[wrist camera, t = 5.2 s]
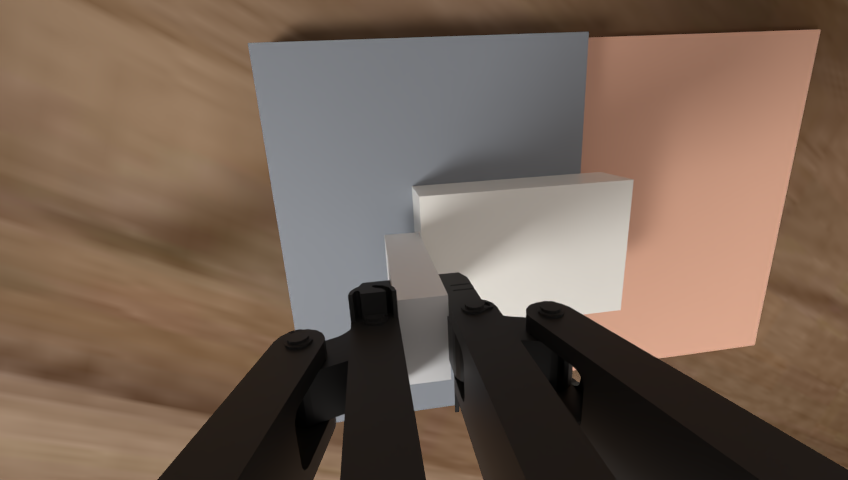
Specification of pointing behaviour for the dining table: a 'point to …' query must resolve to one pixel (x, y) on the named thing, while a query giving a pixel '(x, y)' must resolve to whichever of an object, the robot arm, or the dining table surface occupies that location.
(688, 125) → the mat
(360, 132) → the grey slab
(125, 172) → the dining table surface
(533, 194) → the tile
